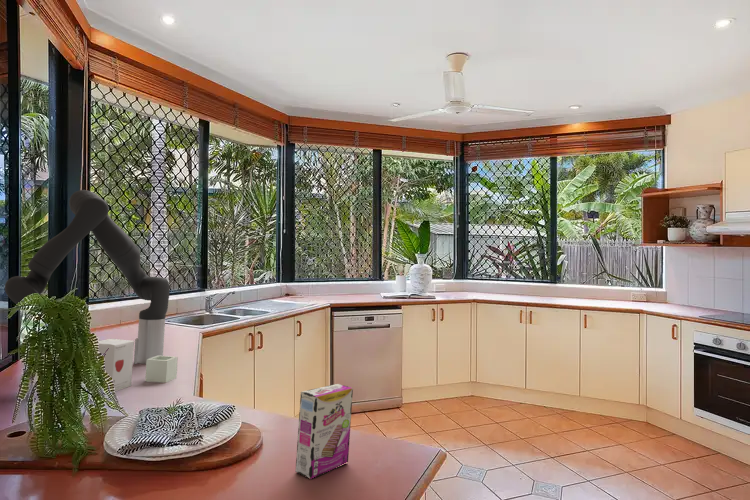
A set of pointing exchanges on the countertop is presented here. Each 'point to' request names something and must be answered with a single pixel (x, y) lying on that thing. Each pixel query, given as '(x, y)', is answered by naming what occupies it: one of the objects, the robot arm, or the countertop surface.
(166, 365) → the stoneware open box
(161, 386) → the countertop surface
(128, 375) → the supplement box
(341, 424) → the candy bar box
